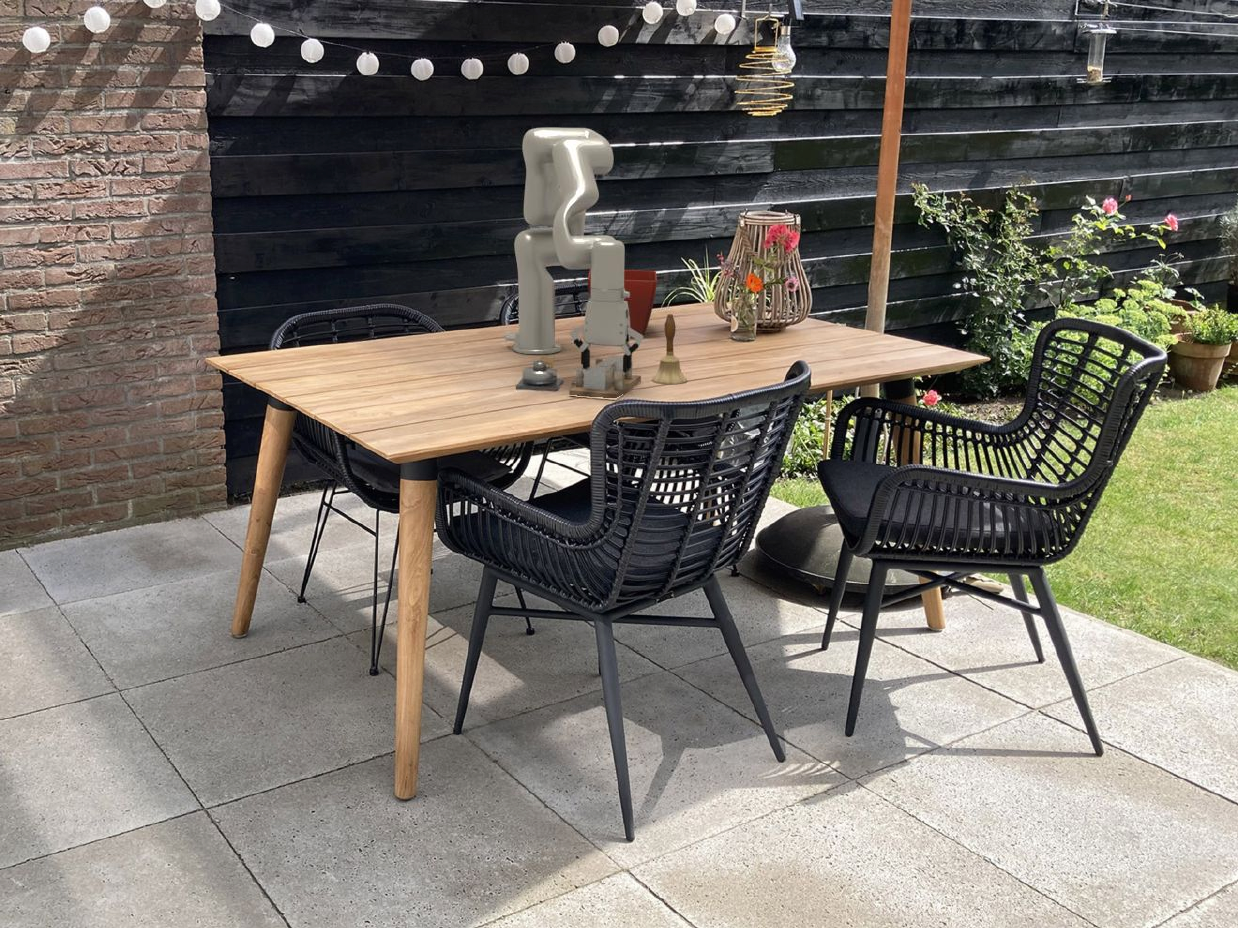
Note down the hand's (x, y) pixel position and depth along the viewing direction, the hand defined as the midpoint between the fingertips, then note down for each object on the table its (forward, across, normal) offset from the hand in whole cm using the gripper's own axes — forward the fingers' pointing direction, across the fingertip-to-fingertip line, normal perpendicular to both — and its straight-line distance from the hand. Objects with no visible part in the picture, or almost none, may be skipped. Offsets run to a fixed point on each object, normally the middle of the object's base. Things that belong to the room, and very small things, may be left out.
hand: (606, 369), depth 287 cm
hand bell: (+5, -12, -14) cm, 19 cm away
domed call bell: (+3, +16, -1) cm, 16 cm away
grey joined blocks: (+3, 0, 0) cm, 3 cm away
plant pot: (+5, +16, -67) cm, 69 cm away
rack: (+5, 0, 0) cm, 5 cm away
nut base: (+5, +13, +2) cm, 14 cm away
